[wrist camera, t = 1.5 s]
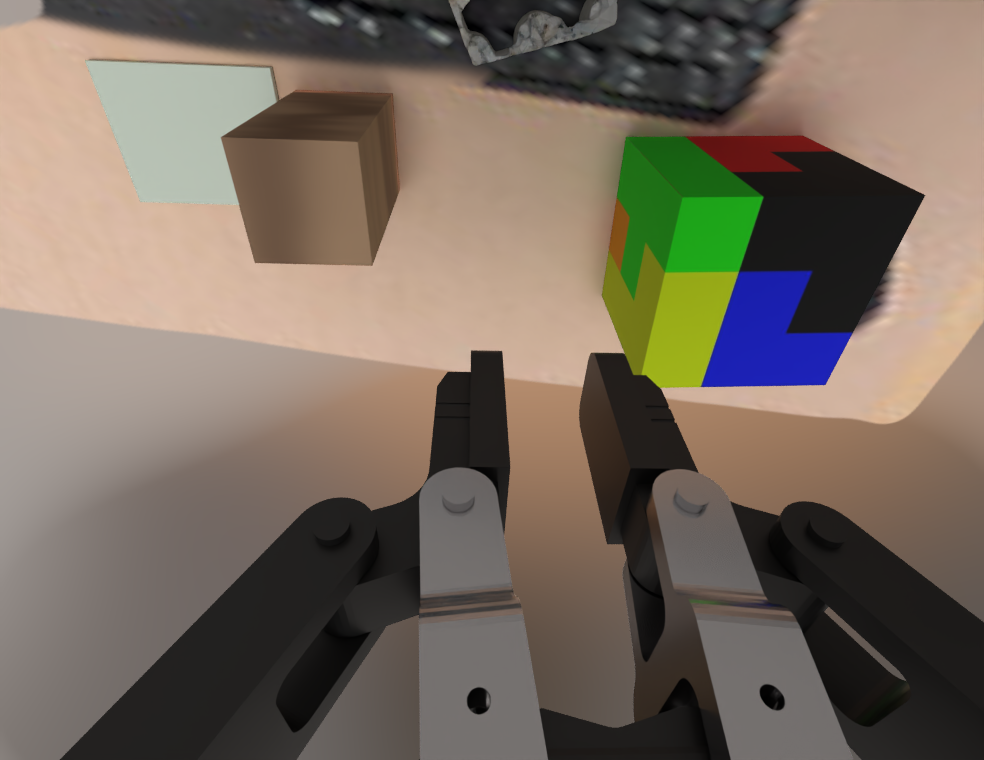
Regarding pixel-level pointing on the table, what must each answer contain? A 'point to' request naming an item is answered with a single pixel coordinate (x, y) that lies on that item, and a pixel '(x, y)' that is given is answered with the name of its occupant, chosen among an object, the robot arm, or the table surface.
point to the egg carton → (536, 30)
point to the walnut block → (316, 177)
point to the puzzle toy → (746, 257)
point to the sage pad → (179, 123)
